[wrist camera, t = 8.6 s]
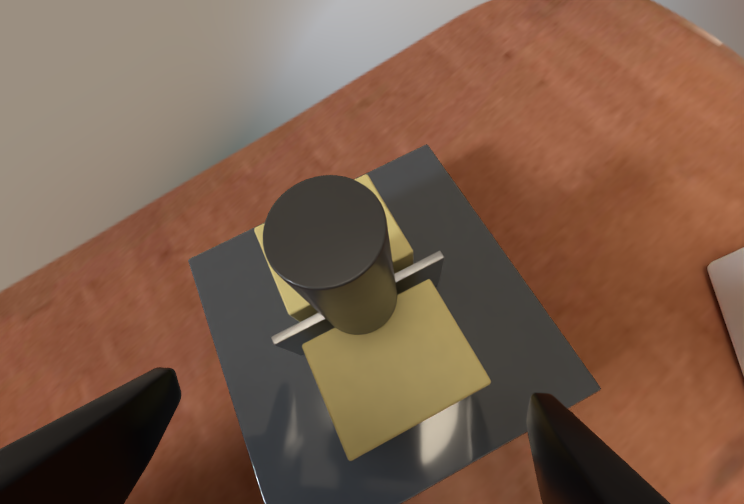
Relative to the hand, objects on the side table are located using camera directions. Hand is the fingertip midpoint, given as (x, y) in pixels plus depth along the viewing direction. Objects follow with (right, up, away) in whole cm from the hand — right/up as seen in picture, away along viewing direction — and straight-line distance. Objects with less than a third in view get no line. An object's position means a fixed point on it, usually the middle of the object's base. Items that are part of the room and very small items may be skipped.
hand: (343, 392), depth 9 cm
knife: (+1, +1, +5) cm, 5 cm away
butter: (+1, +1, +5) cm, 5 cm away
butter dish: (+1, 0, +8) cm, 8 cm away
